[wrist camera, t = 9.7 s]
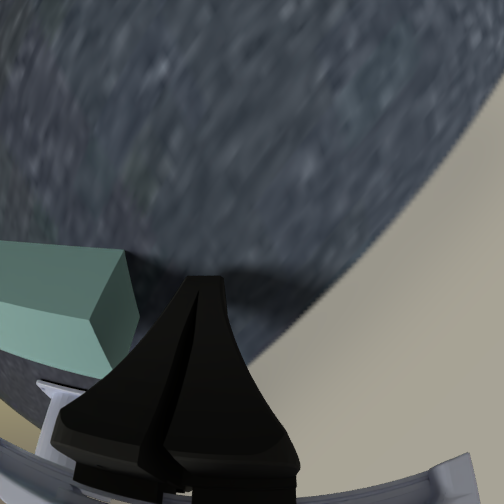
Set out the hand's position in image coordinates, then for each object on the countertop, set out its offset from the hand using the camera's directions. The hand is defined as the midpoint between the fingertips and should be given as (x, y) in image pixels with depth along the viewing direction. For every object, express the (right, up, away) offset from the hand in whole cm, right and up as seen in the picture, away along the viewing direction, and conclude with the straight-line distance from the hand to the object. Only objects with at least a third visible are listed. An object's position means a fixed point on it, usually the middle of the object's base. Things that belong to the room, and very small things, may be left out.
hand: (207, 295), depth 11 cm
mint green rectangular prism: (-10, +1, +1) cm, 10 cm away
